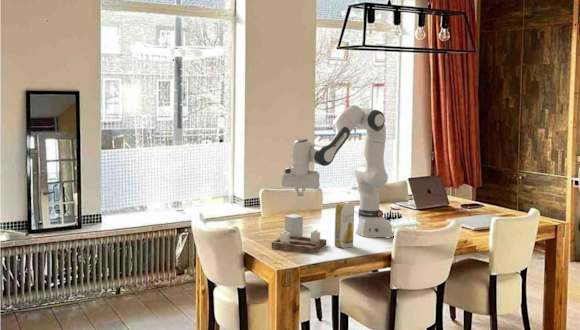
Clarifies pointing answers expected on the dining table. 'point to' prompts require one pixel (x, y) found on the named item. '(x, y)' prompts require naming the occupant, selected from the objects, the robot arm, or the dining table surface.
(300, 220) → the supplement box
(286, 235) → the tab
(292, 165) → the robot arm
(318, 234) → the tab
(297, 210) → the dining table surface
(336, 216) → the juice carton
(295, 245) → the switch board
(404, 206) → the dining table surface
